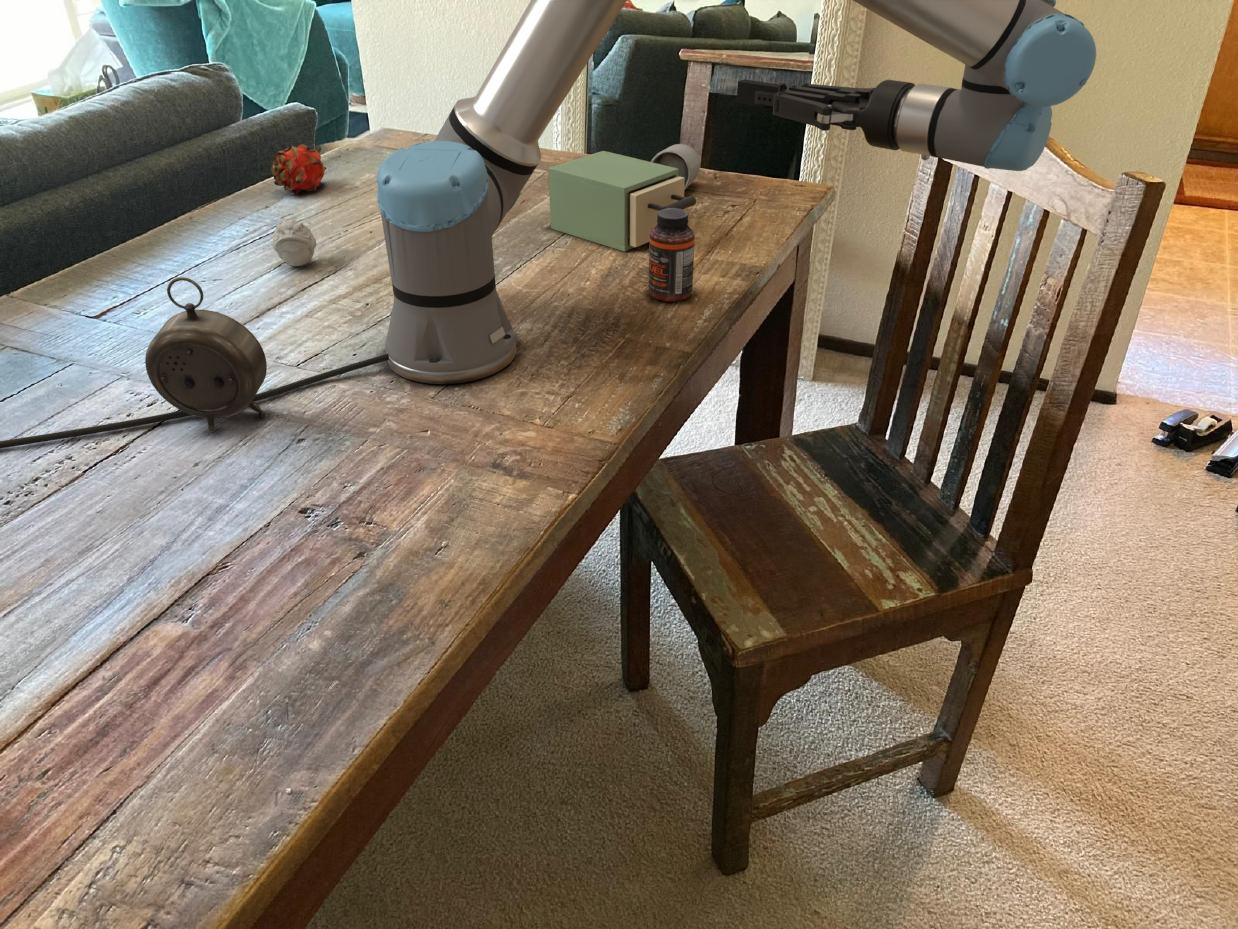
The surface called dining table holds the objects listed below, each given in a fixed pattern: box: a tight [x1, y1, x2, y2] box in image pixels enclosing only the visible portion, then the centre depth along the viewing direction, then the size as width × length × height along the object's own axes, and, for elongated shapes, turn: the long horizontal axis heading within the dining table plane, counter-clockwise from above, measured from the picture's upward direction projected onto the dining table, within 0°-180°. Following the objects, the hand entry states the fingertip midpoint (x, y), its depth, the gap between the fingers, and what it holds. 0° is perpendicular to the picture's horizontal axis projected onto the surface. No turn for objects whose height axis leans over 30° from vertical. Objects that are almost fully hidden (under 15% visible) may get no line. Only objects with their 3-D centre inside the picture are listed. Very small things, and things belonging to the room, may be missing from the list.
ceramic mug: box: [650, 143, 701, 191], centre depth 162 cm, size 11×8×8 cm
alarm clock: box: [144, 276, 268, 433], centre depth 94 cm, size 11×5×16 cm, turn 90°
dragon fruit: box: [269, 143, 327, 195], centre depth 163 cm, size 8×8×12 cm
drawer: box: [628, 176, 697, 248], centre depth 142 cm, size 19×11×8 cm, turn 49°
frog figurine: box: [271, 218, 317, 267], centre depth 133 cm, size 6×7×7 cm
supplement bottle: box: [648, 208, 696, 303], centre depth 122 cm, size 6×6×11 cm
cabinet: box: [547, 150, 679, 252], centre depth 144 cm, size 16×13×10 cm
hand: (740, 91), depth 121 cm, fingers closed
